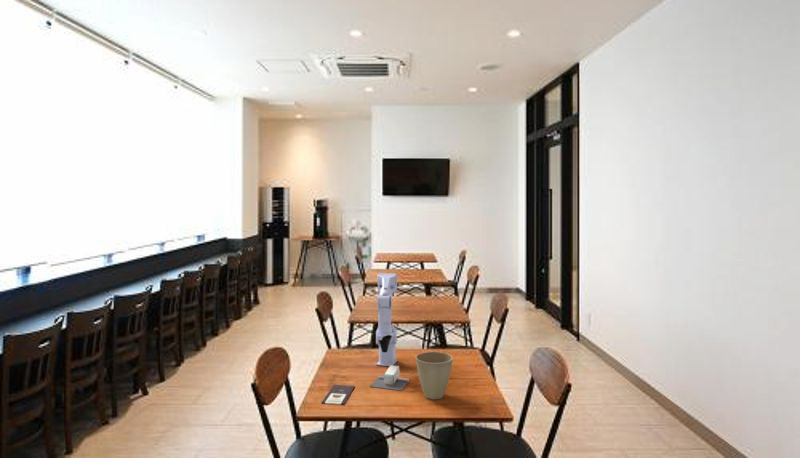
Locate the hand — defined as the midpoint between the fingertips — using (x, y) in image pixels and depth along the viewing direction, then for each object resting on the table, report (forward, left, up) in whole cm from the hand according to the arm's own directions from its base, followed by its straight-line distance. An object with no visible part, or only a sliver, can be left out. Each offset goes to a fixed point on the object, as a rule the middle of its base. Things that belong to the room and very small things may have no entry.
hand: (384, 351), depth 220 cm
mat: (+11, +6, -10) cm, 16 cm away
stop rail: (+6, +6, -10) cm, 13 cm away
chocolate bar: (+27, -10, -11) cm, 31 cm away
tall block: (+3, +6, -7) cm, 9 cm away
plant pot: (+17, +27, -11) cm, 33 cm away
